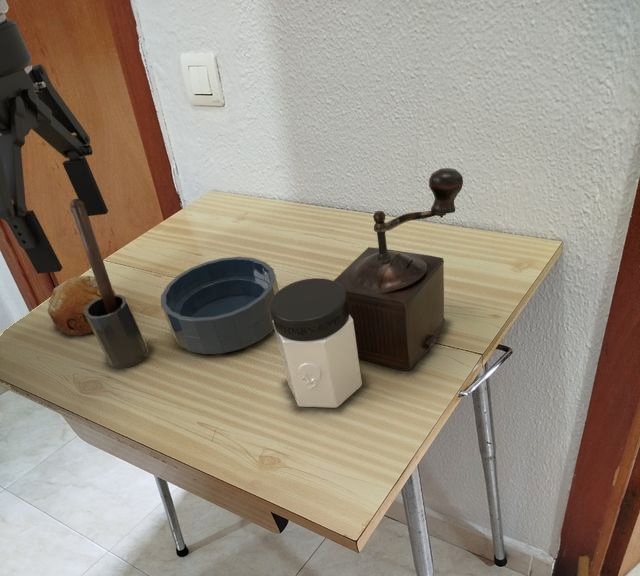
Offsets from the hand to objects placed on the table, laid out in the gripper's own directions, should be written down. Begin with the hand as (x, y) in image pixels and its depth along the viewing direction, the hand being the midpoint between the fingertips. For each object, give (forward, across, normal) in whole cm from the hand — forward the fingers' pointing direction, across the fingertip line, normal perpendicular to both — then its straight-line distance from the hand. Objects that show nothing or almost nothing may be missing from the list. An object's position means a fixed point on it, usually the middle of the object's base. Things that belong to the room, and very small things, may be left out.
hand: (75, 240), depth 68 cm
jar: (+17, -8, -28) cm, 34 cm away
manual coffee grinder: (+17, +3, -37) cm, 41 cm away
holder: (+17, 0, 0) cm, 17 cm away
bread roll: (+17, +10, +10) cm, 22 cm away
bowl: (+17, +6, -13) cm, 22 cm away
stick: (+16, 0, 0) cm, 16 cm away
